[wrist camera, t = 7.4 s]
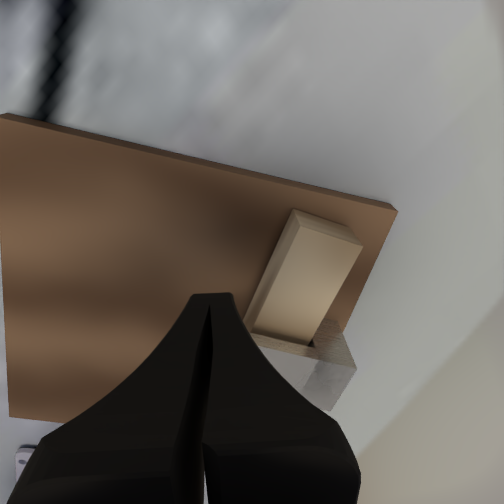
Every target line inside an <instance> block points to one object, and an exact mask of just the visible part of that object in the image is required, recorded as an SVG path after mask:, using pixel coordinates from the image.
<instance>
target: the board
mask: <svg viewBox="0 0 504 504" xmlns="http://www.w3.org/2000/svg"><path fill="white" fill-rule="evenodd" d="M292 209H296V210H299V211H302V212H305V213H308V214H311V215H314V216H317V217H320V218H322V219H325V220H328V221H331V222H334V223H337V224H340V225H343V226H346V227H349V228H351V230H352V231H353V233H354V234H355V236H356V237H357V238H358V240H359V241H360V243H361V244H362V246H363V248H362V250H361V252H360V254H359V256H358V257H357V259H356V261H355V263H354V264H353V266H352V268H351V270H350V272H349V273H348V275H347V277H346V279H345V280H344V282H343V284H342V286H341V288H340V289H339V291H338V293H337V295H336V296H335V298H334V300H333V302H332V304H331V305H330V307H329V309H328V311H327V312H326V314H325V316H324V318H327V319H330V320H334V321H338V323H339V326H340V328H341V330H342V333H343V331H344V329H345V327H346V324H347V322H348V320H349V318H350V316H351V314H352V311H353V309H354V307H355V305H356V303H357V300H358V298H359V296H360V294H361V292H362V290H363V287H364V285H365V283H366V281H367V279H368V276H369V274H370V272H371V270H372V268H373V266H374V263H375V261H376V259H377V257H378V255H379V253H380V250H381V248H382V246H383V244H384V242H385V239H386V237H387V235H388V233H389V231H390V229H391V226H392V224H393V222H394V220H395V218H396V216H397V213H398V211H397V210H396V209H395V208H394V207H393V206H392V205H391V204H388V203H384V202H380V201H375V200H371V199H367V198H363V197H359V196H354V195H350V194H346V193H342V192H338V191H333V190H329V189H325V188H321V187H316V186H312V185H308V184H304V183H300V182H295V181H291V180H287V179H283V178H279V177H274V176H270V175H266V174H262V173H258V172H253V171H249V170H245V169H241V168H237V167H232V166H228V165H224V164H220V163H216V162H211V161H207V160H203V159H199V158H195V157H190V156H186V155H182V154H178V153H174V152H169V151H165V150H161V149H157V148H152V147H148V146H144V145H140V144H136V143H131V142H127V141H123V140H119V139H115V138H110V137H106V136H102V135H98V134H94V133H89V132H85V131H81V130H77V129H73V128H68V127H64V126H60V125H56V124H52V123H47V122H43V121H39V120H35V119H31V118H26V117H22V116H18V115H14V114H10V113H5V114H1V115H0V243H1V263H2V283H3V303H4V322H5V342H6V362H7V382H8V401H9V417H15V418H24V419H32V420H41V421H50V422H58V423H67V422H68V421H70V420H72V419H73V418H75V417H76V416H78V415H79V414H81V413H82V412H84V411H85V410H87V409H88V408H90V407H91V406H92V405H94V404H95V403H96V402H98V401H99V400H101V399H102V398H103V397H104V396H106V395H107V394H108V393H110V392H111V391H112V390H113V389H114V388H116V387H117V386H118V385H119V384H120V383H121V382H122V381H124V380H125V379H126V378H127V377H128V376H129V375H130V374H131V373H132V372H133V371H134V370H135V369H136V368H137V367H138V366H139V365H140V364H141V363H142V362H143V361H144V360H145V359H146V358H147V357H148V356H149V355H150V353H151V352H152V351H153V350H154V349H155V348H156V346H157V345H158V344H159V343H160V341H161V340H162V339H163V338H164V336H165V335H166V334H167V333H168V331H169V330H170V328H171V327H172V325H173V324H174V323H175V321H176V320H177V318H178V317H179V315H180V314H181V312H182V310H183V309H184V307H185V305H186V304H187V302H188V300H189V298H190V296H192V295H193V294H198V293H223V292H230V293H232V294H233V297H234V301H235V305H236V307H237V310H238V312H239V314H240V317H241V319H242V321H243V319H244V317H245V315H246V312H247V310H248V308H249V306H250V303H251V301H252V299H253V297H254V294H255V292H256V290H257V288H258V285H259V283H260V281H261V279H262V277H263V274H264V272H265V270H266V268H267V265H268V263H269V261H270V259H271V256H272V254H273V252H274V250H275V247H276V245H277V243H278V241H279V239H280V236H281V234H282V232H283V230H284V227H285V225H286V223H287V221H288V218H289V216H290V214H291V212H292Z"/></svg>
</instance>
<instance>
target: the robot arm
mask: <svg viewBox="0 0 504 504" xmlns="http://www.w3.org/2000/svg"><path fill="white" fill-rule="evenodd" d="M15 468H16V485H15V487H14V489H13V491H12V493H11V495H10V497H9V499H8V502H7V504H204V472H205V477H206V486H207V495H208V504H357V500H358V495H359V490H360V484H361V472H360V469H359V466H358V463H357V460H356V458H355V455H354V453H353V451H352V449H351V447H350V445H349V443H348V441H347V439H346V437H345V435H344V433H343V431H342V429H341V428H340V426H339V424H338V423H337V421H335V420H334V419H333V418H331V417H330V416H328V415H327V414H326V413H324V412H323V411H321V410H320V409H319V408H317V407H316V406H314V405H313V404H312V403H311V402H309V401H308V400H307V399H306V398H305V397H304V396H302V395H301V394H300V393H299V392H298V391H297V390H296V389H295V388H294V387H293V386H292V385H291V384H290V383H289V382H288V381H287V380H286V379H284V378H283V377H282V376H281V374H280V373H279V372H278V371H277V370H276V369H275V368H274V367H273V365H272V364H271V363H270V362H269V361H268V359H267V358H266V357H265V356H264V354H263V353H262V352H261V350H260V349H259V347H258V346H257V344H256V343H255V341H254V340H253V338H252V337H251V335H250V333H249V332H248V330H247V328H246V326H245V324H244V323H243V321H242V319H241V317H240V314H239V312H238V310H237V307H236V305H235V301H234V297H233V294H232V293H230V292H223V293H198V294H193V295H192V296H190V298H189V300H188V302H187V304H186V305H185V307H184V309H183V310H182V312H181V314H180V315H179V317H178V318H177V320H176V321H175V323H174V324H173V325H172V327H171V328H170V330H169V331H168V333H167V334H166V335H165V336H164V338H163V339H162V340H161V341H160V343H159V344H158V345H157V346H156V348H155V349H154V350H153V351H152V352H151V353H150V355H149V356H148V357H147V358H146V359H145V360H144V361H143V362H142V363H141V364H140V365H139V366H138V367H137V368H136V369H135V370H134V371H133V372H132V373H131V374H130V375H129V376H128V377H127V378H126V379H125V380H124V381H122V382H121V383H120V384H119V385H118V386H117V387H116V388H114V389H113V390H112V391H111V392H110V393H108V394H107V395H106V396H104V397H103V398H102V399H101V400H99V401H98V402H96V403H95V404H94V405H92V406H91V407H90V408H88V409H87V410H85V411H84V412H82V413H81V414H79V415H78V416H76V417H75V418H73V419H72V420H70V421H68V422H67V423H65V424H64V425H62V426H60V427H59V428H57V429H56V430H54V431H52V432H51V433H49V434H47V435H46V436H44V437H42V439H41V440H40V442H39V444H38V445H37V447H36V449H32V448H20V449H18V451H17V452H16V454H15Z"/></svg>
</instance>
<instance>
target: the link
mask: <svg viewBox="0 0 504 504" xmlns="http://www.w3.org/2000/svg"><path fill="white" fill-rule="evenodd" d="M362 248H363V246H362V244H361V243H360V241H359V240H358V238H357V237H356V236H355V234H354V233H353V231H352V230H351V228H349V227H346V226H343V225H340V224H337V223H334V222H331V221H328V220H325V219H322V218H320V217H317V216H314V215H311V214H308V213H305V212H302V211H299V210H296V209H292V212H291V214H290V216H289V218H288V221H287V223H286V225H285V227H284V230H283V232H282V234H281V236H280V239H279V241H278V243H277V245H276V247H275V250H274V252H273V254H272V256H271V259H270V261H269V263H268V265H267V268H266V270H265V272H264V274H263V277H262V279H261V281H260V283H259V285H258V288H257V290H256V292H255V294H254V297H253V299H252V301H251V303H250V306H249V308H248V310H247V312H246V315H245V317H244V319H243V323H244V324H245V326H246V328H247V330H248V332H250V333H254V334H258V335H263V336H267V337H271V338H275V339H279V340H283V341H288V342H292V343H296V344H300V345H304V346H308V344H309V343H310V341H311V339H312V337H313V336H314V334H315V332H316V330H317V328H318V327H319V325H320V323H321V321H322V320H323V318H324V316H325V314H326V312H327V311H328V309H329V307H330V305H331V304H332V302H333V300H334V298H335V296H336V295H337V293H338V291H339V289H340V288H341V286H342V284H343V282H344V280H345V279H346V277H347V275H348V273H349V272H350V270H351V268H352V266H353V264H354V263H355V261H356V259H357V257H358V256H359V254H360V252H361V250H362Z"/></svg>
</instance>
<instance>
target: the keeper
mask: <svg viewBox="0 0 504 504" xmlns="http://www.w3.org/2000/svg"><path fill="white" fill-rule="evenodd" d="M249 333H250V332H249ZM250 335H251V337H252V338H253V340H254V341H255V343H256V344H257V346H258V347H259V349H260V350H261V352H262V353H263V354H264V356H265V357H266V358H267V359H268V361H269V362H270V363H271V364H272V365H273V367H274V368H275V369H276V370H277V371H278V372H279V373H280V374H281V376H282V377H283V378H284V379H286V380H287V381H288V382H289V383H290V384H291V385H292V386H293V387H294V388H295V389H296V390H297V391H298V392H299V393H300V394H301V395H302V396H304V397H305V398H306V399H307V400H308V401H309V402H311V403H312V404H313V405H314V406H316V407H317V408H319V409H322V410H327V411H331V410H332V408H333V407H334V405H335V404H336V402H337V400H338V399H339V397H340V396H341V394H342V392H343V391H344V389H345V388H346V386H347V385H348V383H349V381H350V380H351V378H352V377H353V375H354V373H355V372H356V370H357V367H356V365H355V362H354V360H353V357H352V355H351V353H350V350H349V348H348V345H347V343H346V340H345V338H344V335H343V333H342V330H341V328H340V326H339V323H338V321H334V320H330V319H327V318H323V320H322V321H321V323H320V325H319V327H318V328H317V330H316V332H315V334H314V336H313V337H312V339H311V341H310V343H309V344H308V346H304V345H300V344H296V343H292V342H288V341H283V340H279V339H275V338H271V337H267V336H263V335H258V334H254V333H250Z"/></svg>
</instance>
